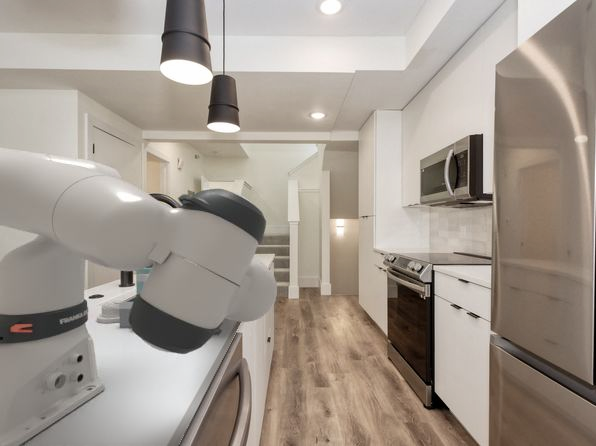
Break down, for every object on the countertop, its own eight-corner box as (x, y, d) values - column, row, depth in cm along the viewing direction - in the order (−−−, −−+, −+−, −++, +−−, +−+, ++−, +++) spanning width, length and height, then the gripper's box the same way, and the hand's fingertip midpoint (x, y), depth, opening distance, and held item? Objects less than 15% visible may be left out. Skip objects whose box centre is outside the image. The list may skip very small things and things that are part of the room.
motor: (156, 331, 81) (156, 305, 81) (113, 331, 81) (112, 306, 81) (177, 314, 95) (177, 293, 95) (140, 315, 95) (140, 293, 95)
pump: (155, 305, 87) (154, 261, 87) (136, 305, 87) (136, 261, 87) (163, 300, 92) (162, 258, 92) (145, 300, 92) (144, 259, 92)
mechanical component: (88, 324, 88) (124, 324, 88) (88, 308, 88) (124, 308, 88) (110, 313, 98) (142, 313, 98) (110, 299, 98) (142, 299, 98)
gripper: (182, 293, 79) (126, 294, 79) (206, 278, 100) (162, 279, 100) (182, 268, 79) (126, 268, 79) (206, 258, 100) (161, 258, 100)
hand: (146, 274), depth 90 cm, fingers open, 8 cm apart
